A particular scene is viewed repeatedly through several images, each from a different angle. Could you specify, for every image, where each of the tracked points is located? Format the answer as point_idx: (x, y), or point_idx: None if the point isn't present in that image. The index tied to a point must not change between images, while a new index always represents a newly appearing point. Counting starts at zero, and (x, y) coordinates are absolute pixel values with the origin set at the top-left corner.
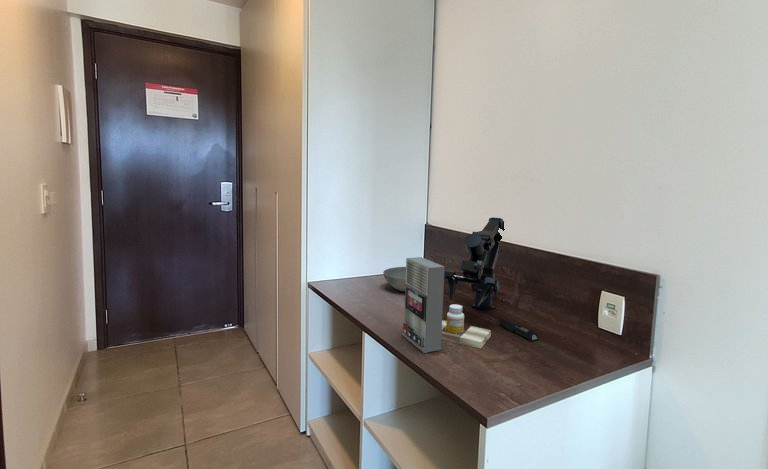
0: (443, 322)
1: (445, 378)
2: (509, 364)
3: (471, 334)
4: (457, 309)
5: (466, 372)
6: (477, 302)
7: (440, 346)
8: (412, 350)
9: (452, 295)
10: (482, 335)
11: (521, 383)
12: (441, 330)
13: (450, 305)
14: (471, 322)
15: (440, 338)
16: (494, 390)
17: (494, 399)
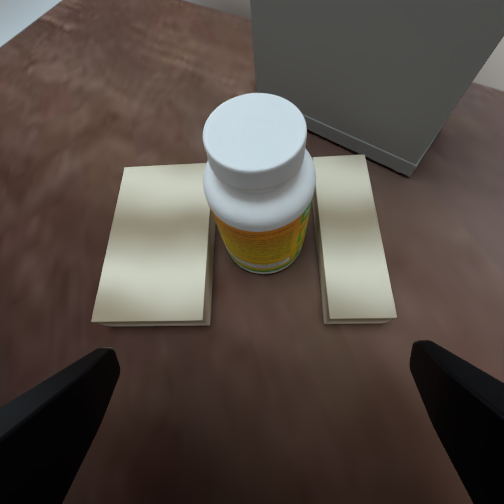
0: (359, 284)
1: (191, 15)
2: (44, 136)
3: (175, 215)
4: (228, 106)
5: (153, 52)
6: (96, 356)
7: (257, 91)
8: None
9: (451, 402)
10: (126, 231)
11: (24, 74)
12: (252, 29)
13: (301, 123)
14: (249, 501)
15: (257, 63)
16: (84, 29)
17: (84, 9)
